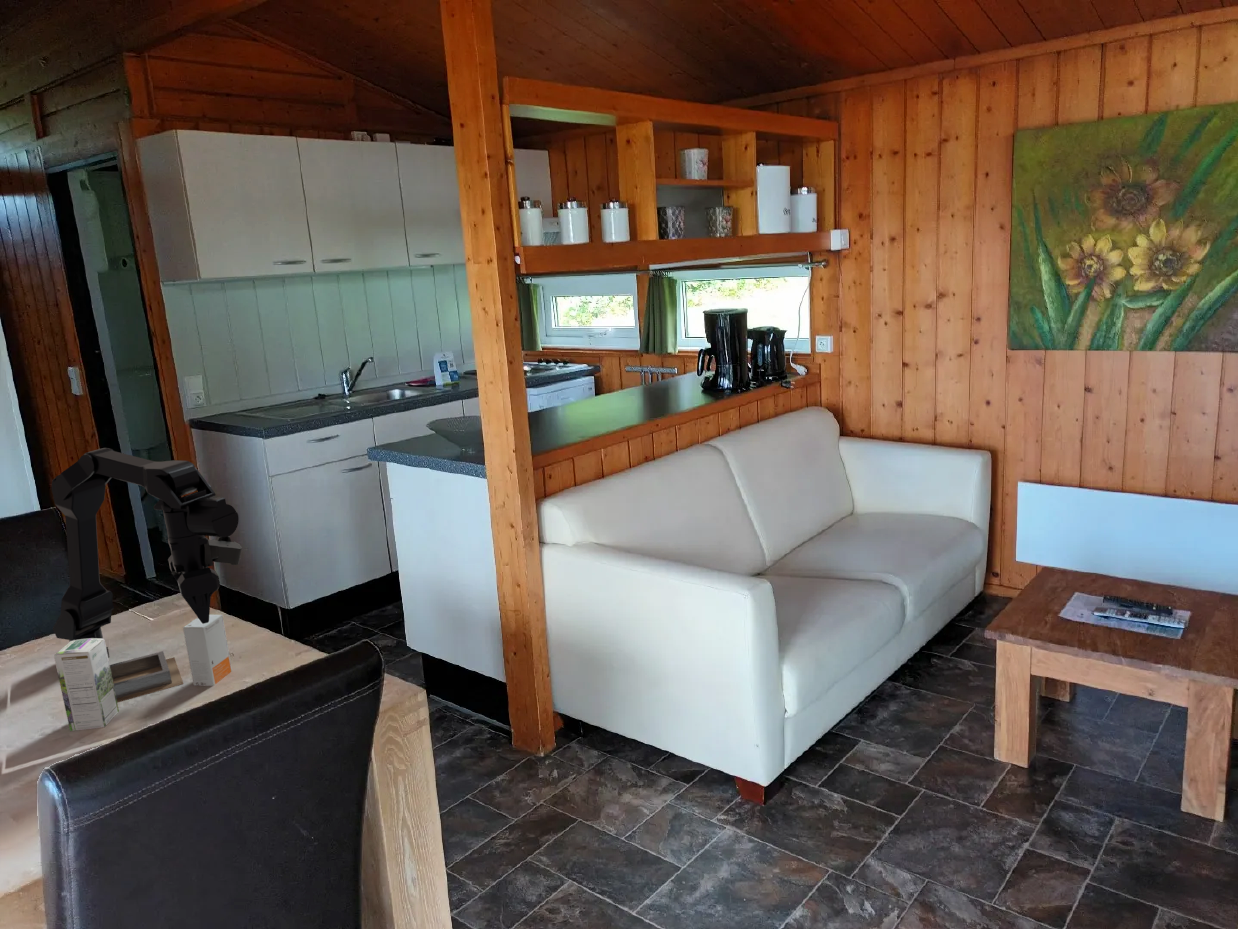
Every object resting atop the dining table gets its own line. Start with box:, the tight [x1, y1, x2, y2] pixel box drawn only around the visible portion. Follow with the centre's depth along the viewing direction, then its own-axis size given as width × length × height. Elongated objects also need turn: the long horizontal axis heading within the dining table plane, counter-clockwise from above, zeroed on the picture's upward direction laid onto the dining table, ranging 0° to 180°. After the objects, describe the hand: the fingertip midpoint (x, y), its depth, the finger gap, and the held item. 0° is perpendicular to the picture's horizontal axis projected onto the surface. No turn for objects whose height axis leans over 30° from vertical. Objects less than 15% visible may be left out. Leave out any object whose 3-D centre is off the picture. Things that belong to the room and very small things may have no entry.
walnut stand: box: [113, 657, 184, 703], centre depth 170 cm, size 14×14×1 cm
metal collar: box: [110, 650, 172, 699], centre depth 170 cm, size 10×10×2 cm
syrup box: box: [53, 637, 120, 732], centre depth 155 cm, size 6×6×14 cm
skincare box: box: [182, 613, 233, 687], centre depth 168 cm, size 6×4×12 cm
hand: (201, 614), depth 167 cm, fingers open, 9 cm apart
